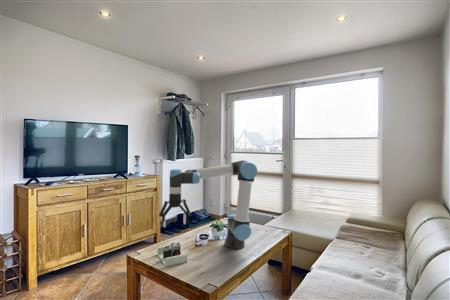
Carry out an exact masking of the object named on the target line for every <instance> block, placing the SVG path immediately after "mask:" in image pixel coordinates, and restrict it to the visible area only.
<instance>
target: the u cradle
mask: <svg viewBox="0 0 450 300" xmlns="http://www.w3.org/2000/svg"><path fill="white" fill-rule="evenodd" d="M170 245H171V244H170ZM170 245H169V244H168V245H164V246H163V245H162V246H158V247H157V256H158V258H159V259H160V261H161V263H162V264H163V266H164V267H165V268H167V267H168V268H169V267H172V266H177V265H180V264H181V265H182V264H185V263H188V253H183V254H182V253H181V255H178V256H173V257H168V258H165V259H163V249H164V247H166V246H170Z"/></svg>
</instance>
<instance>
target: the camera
mask: <svg viewBox="0 0 450 300" xmlns="http://www.w3.org/2000/svg"><path fill="white" fill-rule="evenodd" d="M165 246H166V247H164V249H163V259H165V258H168V257H173V256H178V255H182V253H181V243H180V242H177V243H175V242H171V244H170V246H168V245H165Z"/></svg>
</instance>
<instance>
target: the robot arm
mask: <svg viewBox="0 0 450 300" xmlns="http://www.w3.org/2000/svg"><path fill="white" fill-rule="evenodd" d="M229 175H231V177H232V176H237V179H236V180H237V181H238V183H239V184H238V190H237V191H238V192H237V193H238V194H237V203H236V212H235V213H233V214H229V215H228V216H227V222H226V223H227V227H226V229H227V230H226V238H225V240H224V247H226V248H227V249H231V250H240V249H243V248H245V241H246V240H247V239H249V238H250V236H251V234H252V229H251V227H250V225H251V220H250V217H249V214H250V213H249V212H250V204H251V203H250V201H251V192H252V184H254V181H255V177H256V176H257V175H258V168H257V165H256V164H255V163H254V162H252V161H249V160H238V161H234V162H229V164H224V165H217V166H210V167H205V168H204V167H203V168H197V169H186V170H185V171H184V172H182V169H178V168H176V169H175V168H174V169H170V170H169V195H168V196H169V197H168V198H169V199H168V201H167V200H164V203H163V206H162V208H161V209H160V211H159V213H158V215H159V217H160V218H161V222H162V223H163V228H166V227H167V226H166V224H167V223H166V221H167V217H166V216H167V215H168V213H169V212H170V211H171V209H173V208H180V209H181V211H182V212H183V215H182V216H183V218H182V219H183V220H182V221H183V222H182V223H183V224H184V225H187V224H186V223H187V219H188V214H190V213H191V210H190V209H189V206H188V205H187V200H186V199H185V198H183V199H182V185H184V184H188V185H195V184H196V185H197V184H200V180H202V179H211V178H216V177H223V176H229ZM182 204H183V205H184V207H183V206H182Z"/></svg>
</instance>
